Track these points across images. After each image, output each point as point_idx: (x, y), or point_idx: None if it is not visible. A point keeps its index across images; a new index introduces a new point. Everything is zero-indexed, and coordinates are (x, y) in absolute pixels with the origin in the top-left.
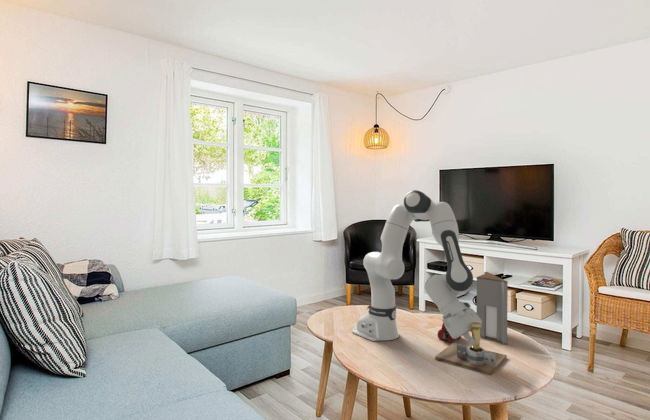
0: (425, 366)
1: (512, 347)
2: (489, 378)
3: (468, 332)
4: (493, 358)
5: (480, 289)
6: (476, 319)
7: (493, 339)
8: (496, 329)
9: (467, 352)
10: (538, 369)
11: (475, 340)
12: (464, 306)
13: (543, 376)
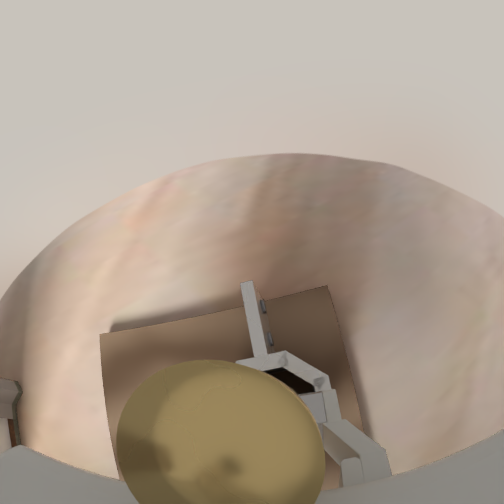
0: None
1: (26, 358)
2: (362, 276)
3: (345, 478)
4: (258, 298)
5: None
6: (23, 496)
7: (15, 430)
8: None
9: None
10: (135, 213)
11: (309, 399)
12: None
13: (179, 179)
